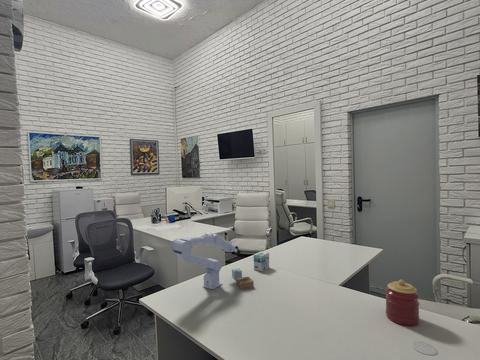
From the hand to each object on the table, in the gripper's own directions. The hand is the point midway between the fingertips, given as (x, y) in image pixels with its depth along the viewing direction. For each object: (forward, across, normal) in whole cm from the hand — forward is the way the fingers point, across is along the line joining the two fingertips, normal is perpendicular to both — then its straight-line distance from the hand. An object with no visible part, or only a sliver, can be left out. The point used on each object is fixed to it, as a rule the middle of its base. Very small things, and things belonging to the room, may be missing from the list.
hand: (235, 251), depth 175 cm
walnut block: (0, -18, +16) cm, 24 cm away
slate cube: (+6, -6, +14) cm, 16 cm away
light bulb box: (+26, -7, +1) cm, 27 cm away
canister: (+13, -95, -2) cm, 96 cm away
